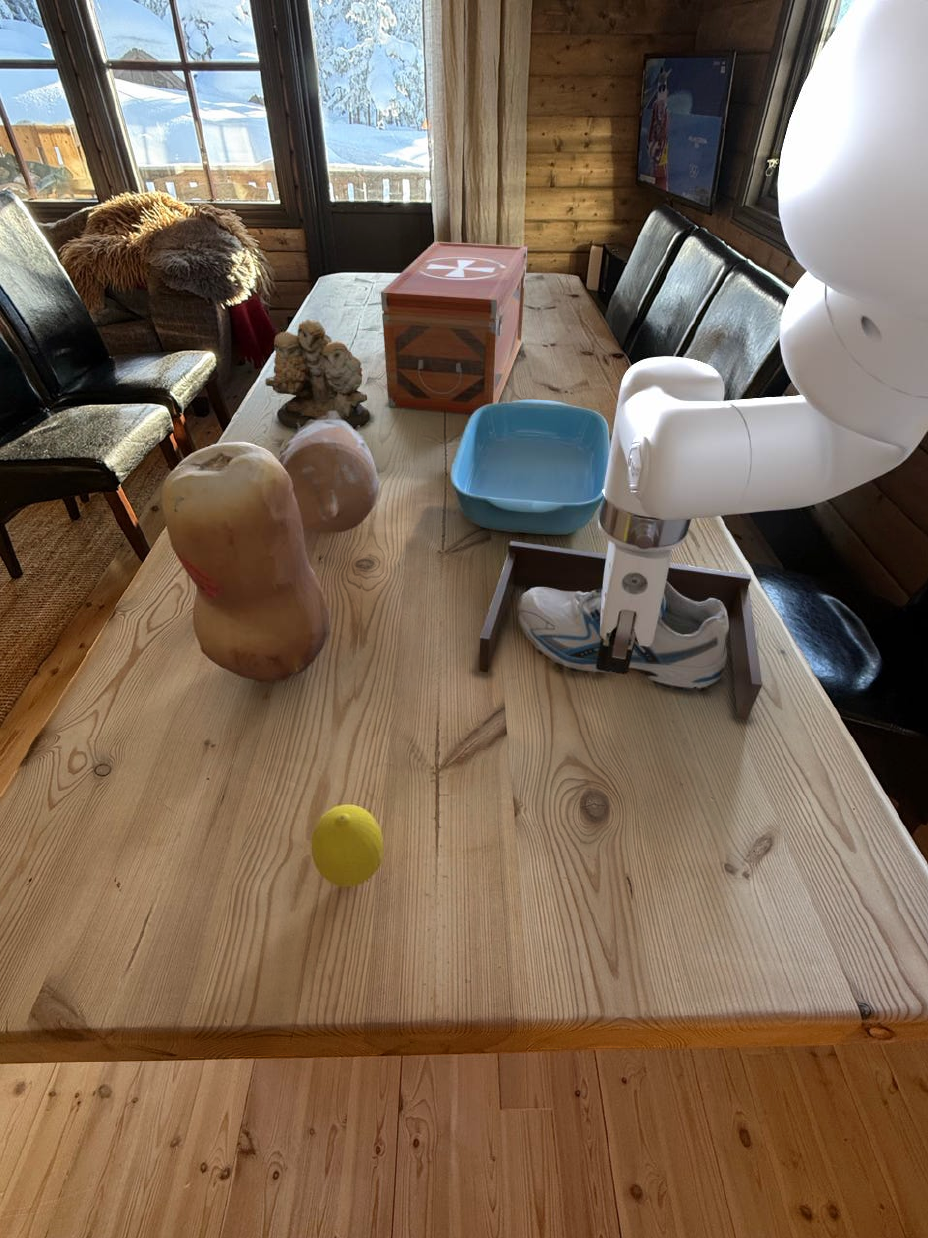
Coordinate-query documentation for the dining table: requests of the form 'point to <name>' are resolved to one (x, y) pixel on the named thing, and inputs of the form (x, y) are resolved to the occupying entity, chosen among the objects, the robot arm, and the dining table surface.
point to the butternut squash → (246, 561)
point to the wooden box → (454, 326)
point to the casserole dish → (531, 466)
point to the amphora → (331, 474)
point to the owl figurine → (316, 378)
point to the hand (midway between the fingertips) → (611, 666)
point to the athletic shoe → (674, 659)
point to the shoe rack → (587, 574)
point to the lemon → (347, 845)
